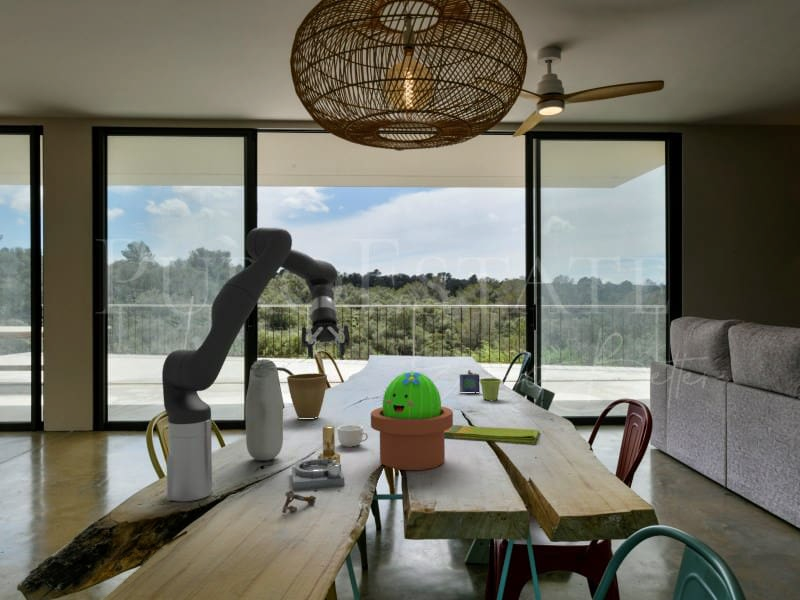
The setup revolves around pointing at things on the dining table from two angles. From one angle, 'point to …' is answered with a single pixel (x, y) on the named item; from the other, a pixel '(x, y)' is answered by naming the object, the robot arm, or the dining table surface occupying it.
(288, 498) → the brown thin angular piece
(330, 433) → the gear
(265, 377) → the white rounded cylinder
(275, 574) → the dining table surface
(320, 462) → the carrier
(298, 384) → the plant pot
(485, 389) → the plant pot
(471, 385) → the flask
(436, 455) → the potted cactus
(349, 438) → the teacup
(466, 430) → the dish towel
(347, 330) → the robot arm
